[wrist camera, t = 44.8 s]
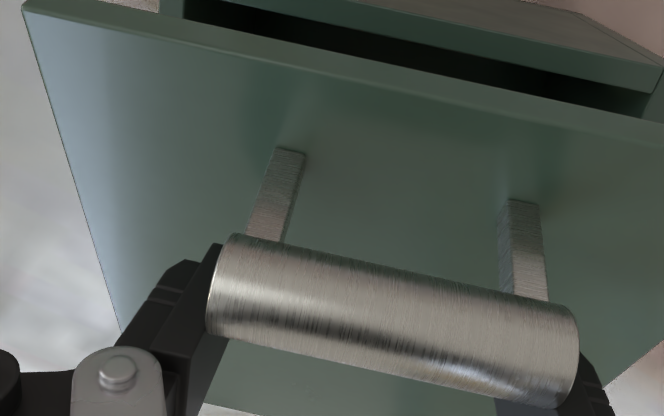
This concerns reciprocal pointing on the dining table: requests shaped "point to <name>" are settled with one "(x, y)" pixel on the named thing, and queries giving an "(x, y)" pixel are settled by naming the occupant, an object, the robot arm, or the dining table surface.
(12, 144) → the dining table surface
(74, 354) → the dining table surface
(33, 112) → the dining table surface
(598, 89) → the green hinged box
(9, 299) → the dining table surface
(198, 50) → the lid
